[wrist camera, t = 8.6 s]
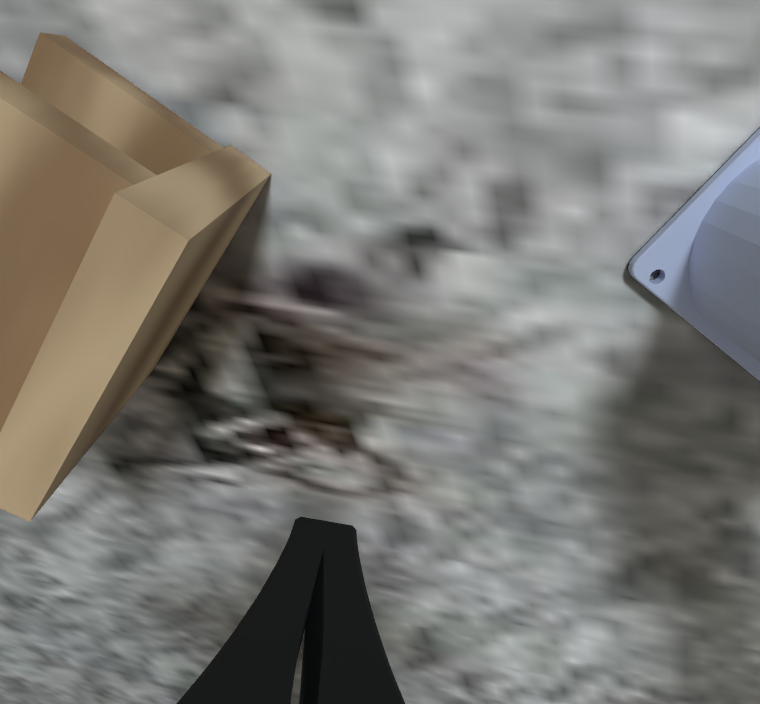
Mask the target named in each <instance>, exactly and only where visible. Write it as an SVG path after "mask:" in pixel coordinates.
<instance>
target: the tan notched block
mask: <svg viewBox="0 0 760 704" xmlns="http://www.w3.org/2000/svg"><path fill="white" fill-rule="evenodd" d="M270 175H271V173H269V172H268V171H266V170H265V169H263V168H262V167H261V166H259V165H258V164H256V163H255V162H254V161H252V160H251V159H249V158H248V157H247V156H245V155H244V154H242V153H241V152H240V151H238V150H237V149H235V148H234V147H233V146H231V145H229V146H227V147H224V148H223V147H222V146H220V145H219V144H217V143H216V142H214V141H213V140H212V139H210V138H209V137H207V136H206V135H205V134H203V133H202V132H200V131H199V130H197V129H196V128H195V127H193V126H192V125H190V124H189V123H188V122H186V121H185V120H183V119H182V118H180V117H179V116H178V115H176V114H175V113H173V112H172V111H171V110H169V109H168V108H166V107H165V106H163V105H162V104H161V103H159V102H158V101H156V100H155V99H154V98H152V97H151V96H149V95H148V94H146V93H145V92H144V91H142V90H141V89H139V88H138V87H137V86H135V85H134V84H132V83H131V82H130V81H128V80H127V79H125V78H124V77H122V76H121V75H120V74H118V73H117V72H115V71H114V70H113V69H111V68H110V67H108V66H107V65H105V64H104V63H103V62H101V61H100V60H98V59H97V58H96V57H94V56H93V55H91V54H90V53H88V52H87V51H86V50H84V49H83V48H81V47H80V46H79V45H77V44H76V43H74V42H73V41H71V40H70V39H69V38H67V37H66V36H62V35H55V34H47V33H39V36H38V39H37V42H36V45H35V47H34V50H33V53H32V56H31V58H30V61H29V64H28V67H27V69H26V72H25V75H24V78H23V80H22V83H21V84H19V83H18V82H16V81H15V80H13V79H12V78H10V77H9V76H7V75H6V74H4V73H3V72H1V71H0V508H1V509H3V510H5V511H7V512H10V513H12V514H14V515H16V516H18V517H21V518H23V519H25V520H27V521H31V520H32V519H33V517H34V516H35V515H36V514H37V512H38V511H39V510H40V509H41V507H42V506H43V505H44V504H45V503H46V501H47V500H48V499H49V498H50V496H51V495H52V494H53V493H54V491H55V490H56V489H57V488H58V486H59V485H60V484H61V483H62V482H63V480H64V479H65V478H66V477H67V475H68V474H69V473H70V472H71V470H72V469H73V468H74V467H75V466H76V464H77V463H78V462H79V461H80V459H81V458H82V457H83V456H84V454H85V453H86V452H87V451H88V449H89V448H90V447H91V446H92V445H93V443H94V442H95V441H96V440H97V438H98V437H99V436H100V435H101V433H102V432H103V431H104V430H105V428H106V427H107V426H108V425H109V424H110V422H111V421H112V420H113V419H114V417H115V416H116V415H117V414H118V412H119V411H120V410H121V409H122V408H123V406H124V405H125V404H126V403H127V401H128V400H129V399H130V398H131V396H132V395H133V394H134V393H135V391H136V390H137V389H138V388H139V387H140V385H141V384H142V383H143V382H144V380H145V379H146V378H147V377H148V375H149V374H150V373H151V372H152V370H153V369H154V368H155V366H156V364H157V363H158V361H159V359H160V358H161V356H162V354H163V353H164V351H165V349H166V348H167V346H168V344H169V343H170V341H171V339H172V338H173V336H174V335H175V333H176V331H177V330H178V328H179V326H180V325H181V323H182V321H183V320H184V318H185V316H186V315H187V313H188V311H189V310H190V308H191V306H192V305H193V303H194V301H195V300H196V298H197V296H198V295H199V293H200V291H201V290H202V288H203V286H204V285H205V283H206V281H207V280H208V278H209V276H210V275H211V273H212V271H213V270H214V268H215V266H216V265H217V263H218V261H219V260H220V258H221V257H222V255H223V253H224V252H225V250H226V248H227V247H228V245H229V243H230V242H231V240H232V238H233V237H234V235H235V233H236V232H237V230H238V228H239V227H240V225H241V223H242V222H243V220H244V218H245V217H246V215H247V213H248V212H249V210H250V208H251V207H252V205H253V203H254V202H255V200H256V198H257V197H258V195H259V193H260V192H261V190H262V188H263V187H264V185H265V183H266V182H267V180H268V179H269V177H270Z"/></svg>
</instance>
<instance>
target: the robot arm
mask: <svg viewBox="0 0 760 704" xmlns="http://www.w3.org/2000/svg"><path fill="white" fill-rule="evenodd" d="M628 269H629V273H630V274H631V276H632V277H633V278H634V279H636V280H637V281H638V282H639V283H641V284H642V285H643V286H644V287H645V288H647V289H648V290H649V291H650V292H652V293H653V294H654V295H655V296H656V297H658V298H659V299H660V300H661V301H662V302H664V303H665V304H666V305H667V306H669V307H670V308H671V309H672V310H673V311H675V312H676V313H677V314H678V315H680V316H681V317H682V318H683V319H684V320H686V321H687V322H688V323H689V324H690V325H692V326H693V327H694V328H695V329H697V330H698V331H699V332H700V333H701V334H703V335H704V336H705V337H706V338H708V339H709V340H710V341H711V342H712V343H714V344H715V345H716V346H717V347H718V348H720V349H721V350H722V351H723V352H725V353H726V354H727V355H728V356H729V357H731V358H732V359H733V360H734V361H736V362H737V363H738V364H739V365H740V366H742V367H743V368H744V369H745V370H747V371H748V372H749V373H750V374H751V375H753V376H754V377H755V378H756V379H757V380H759V381H760V128H759V129H758V130H757V131H756V132H755V133H754V134H753V135H752V136H751V137H750V138H749V139H748V140H747V141H746V142H745V143H744V144H743V145H742V147H741V148H740V149H739V150H738V151H737V152H736V153H735V154H734V155H733V156H732V157H731V158H730V159H729V160H728V161H727V162H726V163H725V164H724V165H723V166H722V167H721V168H720V169H719V170H718V171H717V172H716V173H715V174H714V175H713V176H712V177H711V178H710V179H709V180H708V181H707V182H706V183H705V184H704V185H703V186H702V187H701V188H700V189H699V190H698V191H697V192H696V194H695V195H694V196H693V197H692V198H691V199H690V200H689V201H688V202H687V203H686V204H685V205H684V206H683V207H682V208H681V209H680V210H679V211H678V212H677V213H676V214H675V215H674V216H673V217H672V218H671V219H670V220H669V221H668V222H667V223H666V224H665V225H664V226H663V227H662V228H661V229H660V230H659V231H658V232H657V233H656V234H655V235H654V236H653V237H652V238H651V239H650V241H649V242H648V243H647V244H646V245H645V246H644V247H643V248H642V249H641V250H640V251H639V252H638V253H637V254H636V255H635V256H634V257H633V258H632V260H631V261H630V263H629V267H628ZM659 269H660V274H659V276H658V277H657V278H656V279H654V280H650V275H651V273H652V272H654V271H655V270H659ZM304 629H305V636H304V649H303V662H302V675H301V688H300V701H299V704H405V702H404V700H403V697H402V695H401V692H400V690H399V688H398V685H397V683H396V680H395V678H394V675H393V673H392V670H391V667H390V665H389V662H388V659H387V656H386V654H385V651H384V648H383V645H382V642H381V639H380V636H379V633H378V629H377V626H376V623H375V620H374V616H373V613H372V609H371V605H370V602H369V598H368V594H367V591H366V586H365V582H364V578H363V573H362V568H361V563H360V558H359V552H358V545H357V535H356V529H355V528H354V527H353V526H351V525H345V524H339V523H334V522H328V521H322V520H316V519H310V518H305V517H300V518H298V519H296V520H295V522H294V526H293V529H292V532H291V534H290V537H289V539H288V541H287V544H286V546H285V548H284V550H283V552H282V554H281V556H280V558H279V560H278V562H277V564H276V566H275V567H274V569H273V571H272V573H271V574H270V576H269V578H268V580H267V581H266V583H265V585H264V586H263V588H262V590H261V592H260V593H259V595H258V596H257V598H256V599H255V601H254V602H253V604H252V605H251V607H250V608H249V610H248V611H247V613H246V614H245V616H244V617H243V619H242V620H241V622H240V623H239V625H238V626H237V628H236V629H235V631H234V632H233V633H232V635H231V636H230V638H229V639H228V640H227V642H226V643H225V644H224V646H223V647H222V648H221V650H220V651H219V652H218V654H217V655H216V656H215V658H214V659H213V660H212V661H211V663H210V664H209V665H208V667H207V668H206V669H205V670H204V672H203V673H202V674H201V675H200V676H199V678H198V679H197V680H196V681H195V683H194V684H193V685H192V686H191V687H190V689H189V690H188V691H187V692H186V693H185V695H184V696H183V697H182V698H181V699H180V700H179V702H178V703H177V704H290V700H291V693H292V687H293V680H294V673H295V667H296V661H297V657H298V653H299V649H300V645H301V641H302V637H303V633H304Z"/></svg>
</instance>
